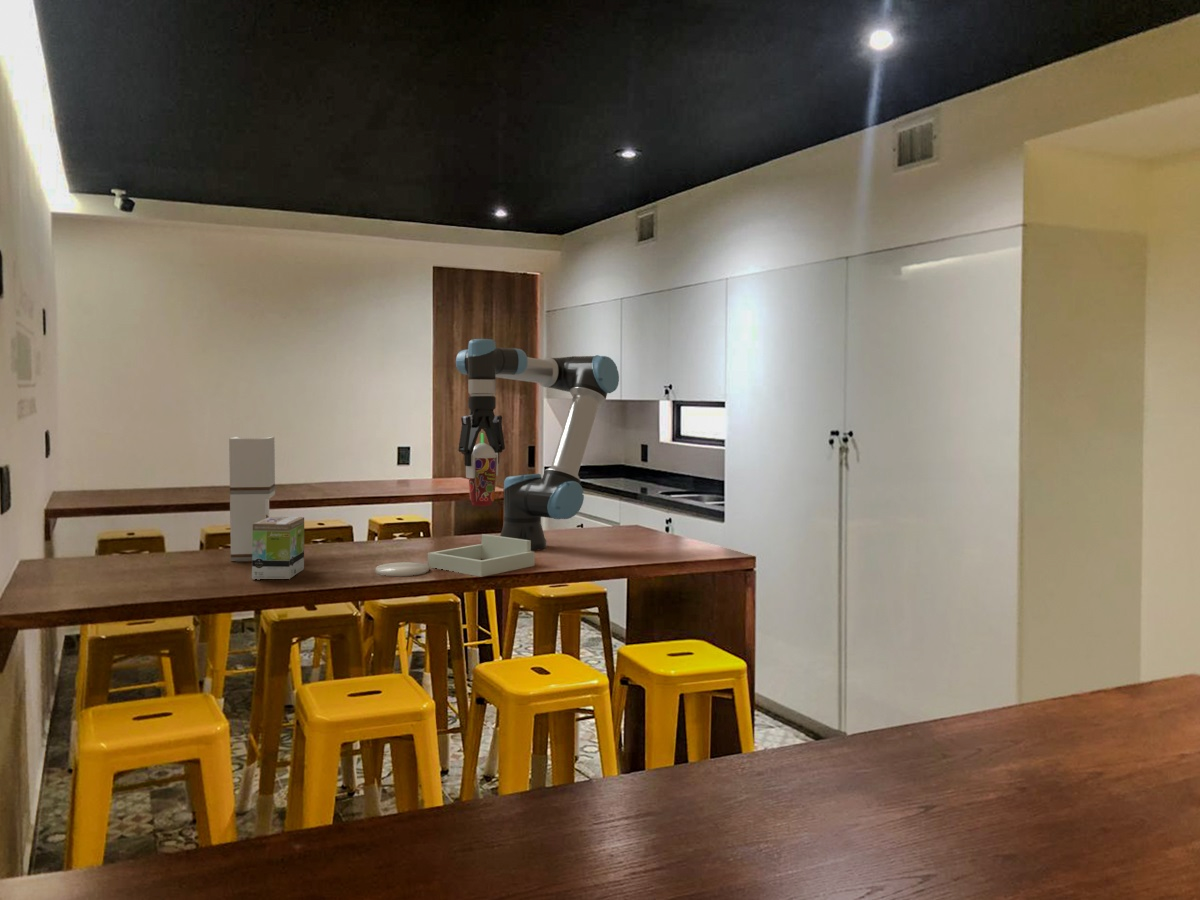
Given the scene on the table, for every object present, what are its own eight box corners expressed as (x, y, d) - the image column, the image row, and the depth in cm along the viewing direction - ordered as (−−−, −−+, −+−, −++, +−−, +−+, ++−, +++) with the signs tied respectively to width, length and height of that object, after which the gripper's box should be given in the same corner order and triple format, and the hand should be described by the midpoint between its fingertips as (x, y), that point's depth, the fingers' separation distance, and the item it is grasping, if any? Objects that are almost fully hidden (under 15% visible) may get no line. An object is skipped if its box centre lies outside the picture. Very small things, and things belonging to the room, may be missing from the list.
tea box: (291, 580, 237) (290, 523, 237) (251, 580, 237) (250, 523, 236) (305, 569, 252) (304, 515, 252) (267, 569, 252) (266, 515, 251)
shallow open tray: (481, 557, 274) (481, 533, 273) (534, 565, 261) (534, 541, 260) (427, 567, 257) (427, 542, 257) (481, 576, 244) (481, 550, 244)
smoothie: (491, 507, 253) (491, 434, 252) (462, 506, 255) (462, 433, 254) (501, 503, 261) (501, 432, 260) (473, 502, 263) (472, 432, 262)
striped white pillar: (270, 560, 265) (268, 438, 263) (230, 561, 263) (229, 438, 261) (275, 553, 276) (274, 436, 274) (237, 554, 274) (236, 436, 272)
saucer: (405, 564, 260) (405, 560, 260) (439, 570, 252) (439, 566, 252) (365, 571, 249) (365, 567, 249) (399, 578, 241) (399, 573, 241)
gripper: (498, 395, 267) (499, 473, 268) (444, 395, 250) (444, 478, 252) (518, 395, 262) (518, 475, 264) (463, 395, 246) (463, 480, 247)
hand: (482, 476), depth 258 cm, fingers closed on smoothie, 8 cm apart
